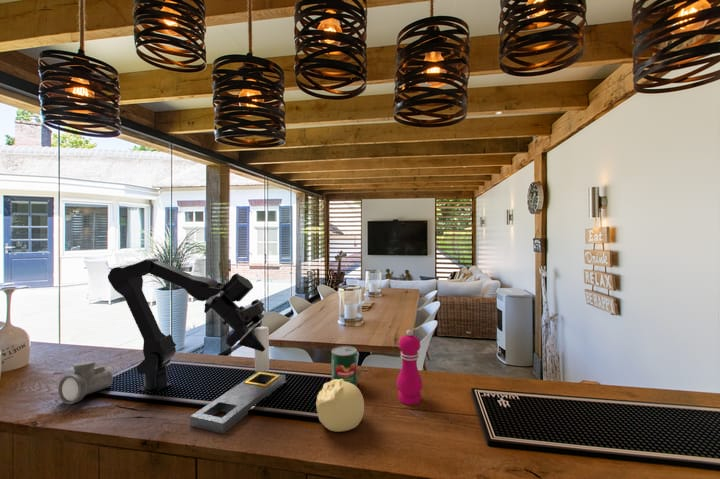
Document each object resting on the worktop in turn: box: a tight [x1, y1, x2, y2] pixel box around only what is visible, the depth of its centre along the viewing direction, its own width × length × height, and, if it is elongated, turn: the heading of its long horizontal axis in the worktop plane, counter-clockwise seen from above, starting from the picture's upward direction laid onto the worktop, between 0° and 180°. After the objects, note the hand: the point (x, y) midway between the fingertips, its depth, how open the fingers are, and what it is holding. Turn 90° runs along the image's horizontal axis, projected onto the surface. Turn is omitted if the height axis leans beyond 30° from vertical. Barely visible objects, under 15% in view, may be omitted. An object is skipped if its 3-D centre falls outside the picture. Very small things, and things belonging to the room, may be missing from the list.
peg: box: [254, 326, 270, 372], centre depth 106 cm, size 4×4×12 cm
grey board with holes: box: [189, 371, 287, 434], centre depth 98 cm, size 28×10×3 cm, turn 161°
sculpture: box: [315, 379, 365, 433], centre depth 87 cm, size 11×12×11 cm
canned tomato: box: [331, 345, 358, 387], centre depth 108 cm, size 8×8×11 cm
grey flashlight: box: [57, 360, 114, 405], centre depth 103 cm, size 12×8×10 cm
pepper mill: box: [396, 329, 423, 406], centre depth 98 cm, size 7×7×20 cm
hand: (266, 347), depth 106 cm, fingers closed on peg, 4 cm apart
